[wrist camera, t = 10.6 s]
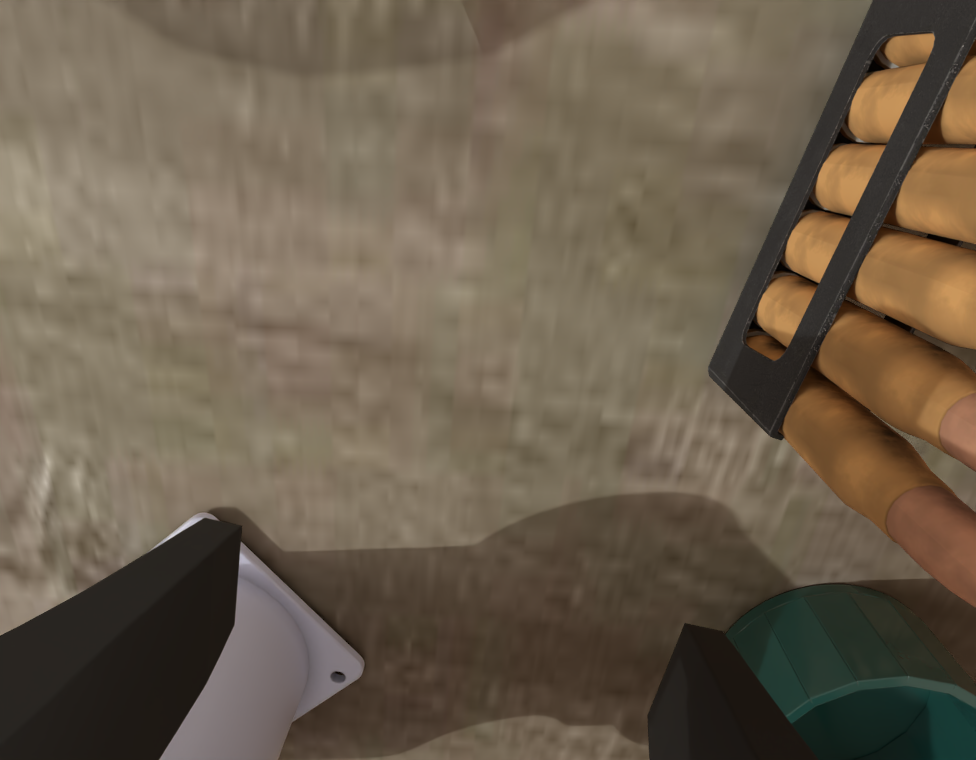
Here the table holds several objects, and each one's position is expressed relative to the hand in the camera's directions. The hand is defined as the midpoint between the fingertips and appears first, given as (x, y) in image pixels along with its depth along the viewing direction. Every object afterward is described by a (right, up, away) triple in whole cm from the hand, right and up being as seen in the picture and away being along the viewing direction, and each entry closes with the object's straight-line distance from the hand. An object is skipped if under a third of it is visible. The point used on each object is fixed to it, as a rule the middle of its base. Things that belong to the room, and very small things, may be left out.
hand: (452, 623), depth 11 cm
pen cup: (+12, -6, +13) cm, 19 cm away
